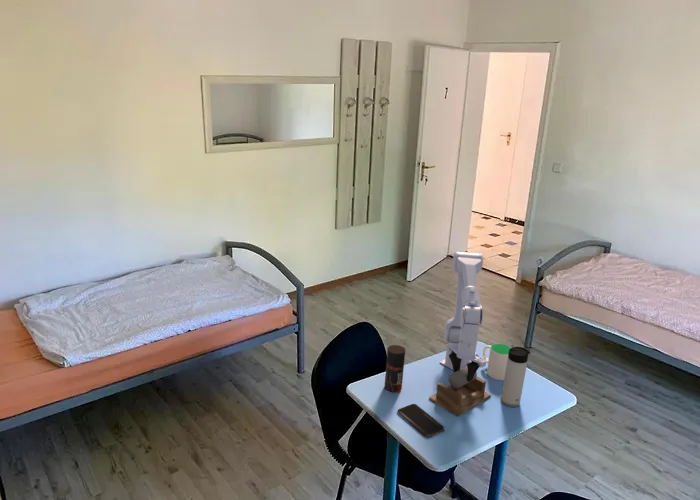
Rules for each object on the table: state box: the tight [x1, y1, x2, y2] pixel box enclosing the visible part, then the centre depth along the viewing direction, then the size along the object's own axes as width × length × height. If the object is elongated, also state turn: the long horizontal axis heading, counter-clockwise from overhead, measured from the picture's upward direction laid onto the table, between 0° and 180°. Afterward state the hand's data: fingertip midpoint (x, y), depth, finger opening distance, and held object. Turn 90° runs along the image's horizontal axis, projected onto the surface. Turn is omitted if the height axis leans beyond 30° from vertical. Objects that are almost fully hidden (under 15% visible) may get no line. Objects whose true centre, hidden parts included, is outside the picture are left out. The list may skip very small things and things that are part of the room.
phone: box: [396, 403, 445, 438], centre depth 174 cm, size 8×1×15 cm
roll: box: [447, 366, 478, 389], centre depth 184 cm, size 9×5×5 cm, turn 132°
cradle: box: [428, 376, 491, 417], centre depth 186 cm, size 18×12×6 cm, turn 132°
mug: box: [482, 342, 512, 381], centre depth 203 cm, size 12×8×10 cm, turn 36°
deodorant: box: [384, 344, 406, 394], centre depth 188 cm, size 6×6×15 cm
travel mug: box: [500, 346, 531, 408], centre depth 183 cm, size 6×7×20 cm
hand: (462, 376), depth 184 cm, fingers closed on roll, 5 cm apart
